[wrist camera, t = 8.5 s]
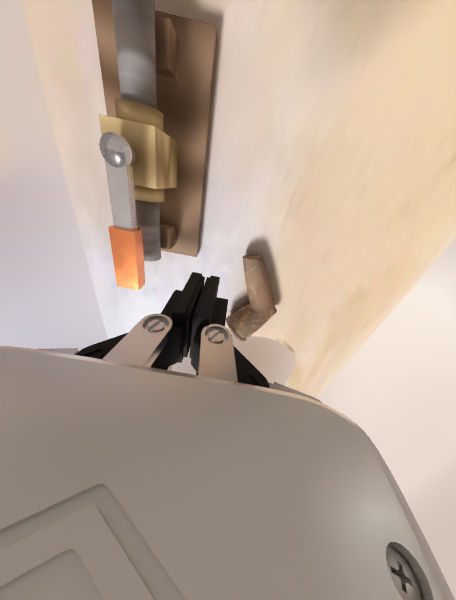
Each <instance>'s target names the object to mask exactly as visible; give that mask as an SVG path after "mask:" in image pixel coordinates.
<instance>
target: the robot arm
mask: <svg viewBox="0 0 456 600" xmlns="http://www.w3.org/2000/svg"><path fill="white" fill-rule="evenodd" d="M219 279H220V277H216V276H211V277H210V278H209V277H207V279H206V282H205V285H204V280H205V277H203V276H202V274H200V273H195V272H193V273H192V274H191V276H190V278H189V280H188V282H187V284H186V285H185V287H184V289H183V291H179V290H175V291H174V293H173V294H172V296H171V298H170V299H169V301H168V303H167V304H166V306H165V308H164V309H163V311H162V312H161V314H152V315H148V316H146V317H144V318H143V319H142V320H141V321H140V322H139V323H138V324H137V325H136V326H135V327H134V328H133V329H132V330H131V331H130V332H129V333H126V334H123V335H120V336H117V337H114V338H111V339H108V340H106V341H103V342H100V343H97V344H94V345H91V346H88V347H86V348H84V349H82V350H81V351H78V349H77V348H71V349H69V348H68V349H30V348H21V347H10V346H0V600H455V599H454V597H453V595H452V593H451V591H450V588H449V587H448V584H447V582H446V580H445V578H444V576H443V574H442V572H441V570H440V568H439V566H438V564H437V562H436V560H435V557H434V555H433V553H432V551H431V549H430V547H429V545H428V543H427V541H426V539H425V537H424V535H423V533H422V531H421V529H420V527H419V525H418V524H417V521H416V519H415V517H414V515H413V513H412V512H411V509H410V508H409V506H408V504H407V502H406V500H405V498H404V496H403V494H402V492H401V490H400V488H399V486H398V485H397V483H396V481H395V479H394V477H393V475H392V473H391V472H390V470H389V468H388V466H387V465H386V463H385V461H384V460H383V458H382V456H381V454H380V453H379V451H378V450H377V448H376V447H375V445H374V444H373V442H372V441H371V440H370V438H369V437H368V436H367V434H366V433H365V432H364V431H363V430H362V429H361V428H360V427H359V426H358V425H357V424H356V423H354V422H353V421H352V420H350V419H349V418H348V417H346V416H345V415H343V414H342V413H340V412H338V411H336V410H335V409H333V408H331V407H329V406H327V405H325V404H323V403H322V402H320V401H319V400H318V399H316V398H314V397H311V396H309V395H306V394H304V393H301V392H299V391H296V390H294V389H291V388H288V387H286V386H283V385H281V384H278V383H276V382H274V383H273V384H272V383H269V382H268V381H267V379H266V378H265V377H264V376H263V375H262V374H261V373H260V372H259V371H258V370H257V369H256V368H255V367H254V366H253V365H252V364H251V363H250V362H249V361H248V360H247V359H246V358H245V357H244V356H243V355H242V354H241V353H240V352H239V351H238V350H237V349H236V348H235V347H234V346H233V340H232V334H231V332H230V330H229V329H228V328H226V327H225V320H226V312H227V305H228V299H222V298H217V291H218V285H219ZM190 346H191V347H190ZM189 349H190V358H191V365H192V366H193V367H194V369H195V370H196V375H192V374H186V373H180V372H174V371H171V368H172V365H173V364H175V363H177V362H182V359H183V357H187V355H188V352H189Z"/></svg>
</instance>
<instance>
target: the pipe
mask: <svg viewBox="0 0 456 600" xmlns="http://www.w3.org/2000/svg"><path fill="white" fill-rule="evenodd" d="M243 263H244V271H245V279H246V285H247V290H248V296H249V302H250V303H249V304H248V305H246V306H244V307H242V308H240V309H238V310H237V311H236V312H235V313H233V314H231V315H230V316H228V317H227V318H226V322H227V324H228V326H229V328H230V330H231V332H232V333H233V334H234V335H235V337H236V338H237V339H239V340H241V341H245V340H246V338H247V337H249V336H250V335H252V334H253V333H254V332H256V331H257V330H258V329H259V328H260V327H261V326H262V325H263V324H264V323H266V322H267V321H268V319H270V318H271V316H272V315H274V314H275V313H276V311H277V310H276V308H275V306H274V303H273V298H272V292H271V288H270V285H269V281H268V277H267V273H266V269H265V266H264V262H263V258H262V256H261V255H253V256H247V255H245V256H243Z"/></svg>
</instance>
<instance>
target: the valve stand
mask: <svg viewBox="0 0 456 600" xmlns="http://www.w3.org/2000/svg"><path fill="white" fill-rule="evenodd" d="M92 5H93V12H94V20H95V27H96V35H97V42H98V50H99V57H100V65H101V72H102V80H103V87H104V95H105V103H106V110H107V116H105V115H101V114H99V120H100V126H101V133H102V135H103V134H104V133H106V132H113V133H116V134H118V135H121V136H123V137H125V138H126V139H127V140H128V141H129V142H130V143H131V145H132V146H133V149H134V152H135V162H134V164H133V179H134V193H135V207H136V221H137V228H141V229H142V239H143V256H144V261H157V260H159V259H160V258H161V251H167V252H172V253H178V254H183V255H189V256H194V257H197V255H198V248H199V236H200V225H201V213H202V202H203V190H204V178H205V167H206V155H207V144H208V132H209V120H210V109H211V97H212V86H213V74H214V62H215V51H216V39H217V34H216V27H215V25H211V24H207V23H203V22H199V21H195V20H191V19H187V18H183V17H179V16H175V15H171V14H167V13H163V12H159V11H155V10H154V0H92Z"/></svg>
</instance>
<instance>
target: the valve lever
mask: <svg viewBox="0 0 456 600" xmlns="http://www.w3.org/2000/svg"><path fill="white" fill-rule="evenodd" d="M100 150H101V153H102V155H103V157H104V159H105V163H106V170H107V178H108V185H109V193H110V200H111V207H112V215H113V222H114V225H113V226H110V227H109V234H110V240H111V247H112V253H113V260H114V267H115V273H116V280H117V286H120V287H125V288H131V289H136V290H139V289H140V288H141V287H142V286H143V285H144V284H145V273H144V256H143V239H142V229H141V228H137V221H136V207H135V193H134V179H133V164H134V162H135V152H134V149H133V146H132V145H131V143H130V142H129V141H128V140H127V139H126V138H125V137H123V136H121V135H118V134H116V133H113V132H106V133H104V134H103V135H102V137H101V139H100Z"/></svg>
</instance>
